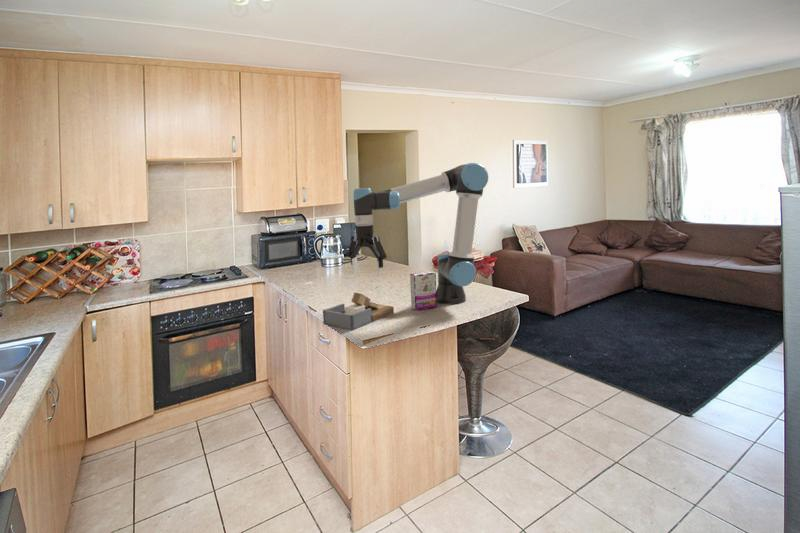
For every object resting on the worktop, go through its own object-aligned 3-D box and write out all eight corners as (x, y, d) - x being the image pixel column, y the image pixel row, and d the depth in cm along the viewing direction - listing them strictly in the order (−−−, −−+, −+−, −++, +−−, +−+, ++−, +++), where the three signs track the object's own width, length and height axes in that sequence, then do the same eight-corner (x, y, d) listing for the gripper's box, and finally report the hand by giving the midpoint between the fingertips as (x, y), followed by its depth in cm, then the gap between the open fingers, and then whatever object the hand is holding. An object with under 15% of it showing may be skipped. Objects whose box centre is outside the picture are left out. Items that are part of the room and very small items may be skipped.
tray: (371, 322, 180) (371, 308, 179) (352, 330, 171) (352, 315, 170) (343, 316, 190) (342, 303, 189) (323, 324, 180) (322, 310, 179)
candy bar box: (431, 304, 205) (431, 270, 202) (437, 307, 200) (436, 272, 197) (410, 308, 200) (409, 273, 197) (415, 310, 196) (414, 275, 193)
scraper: (380, 303, 190) (366, 294, 181) (378, 312, 188) (363, 303, 180) (363, 300, 195) (349, 291, 187) (360, 308, 194) (346, 300, 186)
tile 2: (365, 312, 184) (365, 305, 184) (356, 316, 180) (355, 309, 179) (354, 310, 188) (354, 303, 187) (345, 314, 183) (344, 307, 183)
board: (393, 313, 193) (393, 306, 192) (372, 322, 181) (372, 315, 180) (366, 308, 202) (365, 302, 202) (344, 316, 190) (343, 309, 189)
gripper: (336, 225, 188) (340, 273, 192) (382, 226, 174) (385, 277, 178) (348, 224, 194) (351, 270, 198) (393, 224, 180) (395, 274, 184)
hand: (367, 274), depth 188 cm, fingers open, 13 cm apart
